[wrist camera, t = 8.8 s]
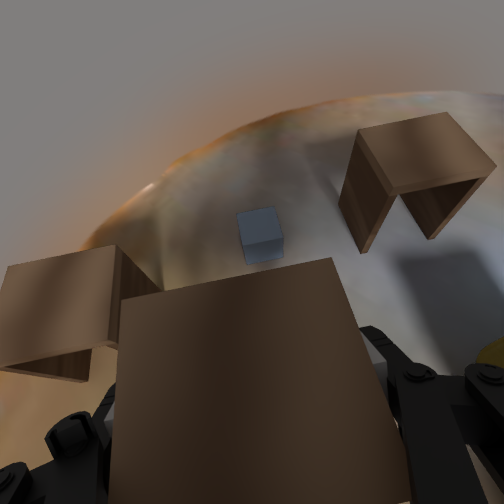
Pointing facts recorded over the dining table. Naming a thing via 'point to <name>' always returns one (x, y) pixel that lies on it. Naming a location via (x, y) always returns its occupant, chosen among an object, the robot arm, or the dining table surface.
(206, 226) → the dining table surface
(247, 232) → the cube
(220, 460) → the cover middle
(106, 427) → the robot arm
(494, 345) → the flower pot
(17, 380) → the dining table surface
